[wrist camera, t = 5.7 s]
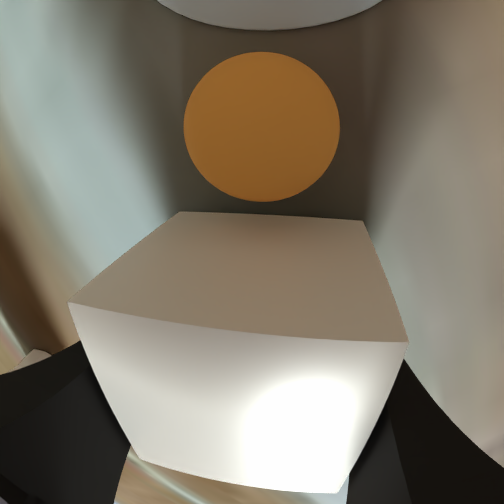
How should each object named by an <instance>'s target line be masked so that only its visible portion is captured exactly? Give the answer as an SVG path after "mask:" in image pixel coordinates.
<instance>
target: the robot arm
mask: <svg viewBox="0 0 504 504" xmlns="http://www.w3.org/2000/svg"><path fill="white" fill-rule="evenodd" d="M130 446H131V443H130V442H129V440H128V438H127V436H126V435H125V433H124V431H123V429H122V428H121V426H120V424H119V422H118V420H117V418H116V416H115V415H114V413H113V411H112V409H111V407H110V405H109V403H108V401H107V399H106V397H105V395H104V393H103V391H102V389H101V386H100V384H99V382H98V380H97V378H96V376H95V373H94V371H93V369H92V367H91V364H90V362H89V360H88V357H87V355H86V352H85V350H84V347H83V345H82V342H81V340H80V341H79V342H77V343H75V344H73V345H72V346H70V347H68V348H66V349H64V350H62V351H60V352H58V353H56V354H54V355H52V356H50V357H48V358H46V359H43V360H41V361H39V362H36V363H34V364H31V365H28V366H26V367H23V368H20V369H18V370H15V371H12V372H8V373H5V374H2V375H0V504H114V499H115V495H116V491H117V487H118V483H119V480H120V476H121V473H122V470H123V466H124V463H125V460H126V457H127V454H128V451H129V449H130ZM346 504H504V468H503V467H502V466H501V465H499V464H498V463H497V462H496V461H494V460H493V459H492V458H490V457H489V456H488V455H487V454H486V453H485V452H483V451H482V450H481V449H480V448H479V447H478V446H477V445H476V444H475V443H474V442H472V441H471V440H470V439H469V438H468V437H467V436H466V435H465V434H464V433H463V432H462V431H461V430H460V429H459V428H458V427H457V426H456V425H455V424H454V423H453V422H452V421H451V419H450V418H449V417H448V416H447V415H446V414H445V413H444V412H443V410H442V409H441V408H440V407H439V406H438V405H437V403H436V402H435V401H434V400H433V398H432V397H431V396H430V395H429V393H428V392H427V391H426V389H425V388H424V387H423V385H422V384H421V383H420V381H419V380H418V378H417V377H416V376H415V374H414V373H413V371H412V370H411V368H410V367H409V365H408V364H407V363H406V361H405V360H404V358H403V361H402V364H401V366H400V369H399V372H398V374H397V377H396V379H395V382H394V384H393V386H392V389H391V391H390V393H389V396H388V398H387V400H386V403H385V405H384V407H383V409H382V411H381V414H380V416H379V418H378V420H377V422H376V424H375V426H374V428H373V430H372V432H371V434H370V436H369V438H368V440H367V442H366V444H365V446H364V448H363V450H362V452H361V453H360V455H359V457H358V459H357V461H356V463H355V464H354V466H353V468H352V470H351V471H350V473H349V484H348V494H347V502H346Z"/></svg>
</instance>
